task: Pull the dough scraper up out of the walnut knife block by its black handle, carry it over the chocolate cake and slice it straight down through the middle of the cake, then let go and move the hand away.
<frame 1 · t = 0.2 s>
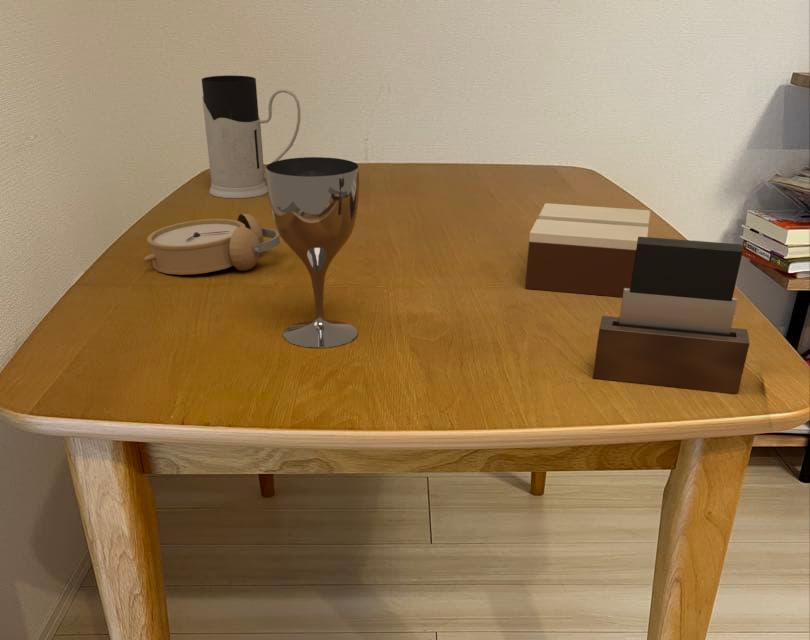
cake near: (583, 285, 96), on the table
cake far: (588, 265, 102), on the table
wine glass: (320, 335, 84), on the table
dough scraper: (676, 314, 73), in the knife block
knife block: (664, 378, 76), on the table
alarm clock: (216, 264, 102), on the table
glass holder: (257, 193, 131), on the table
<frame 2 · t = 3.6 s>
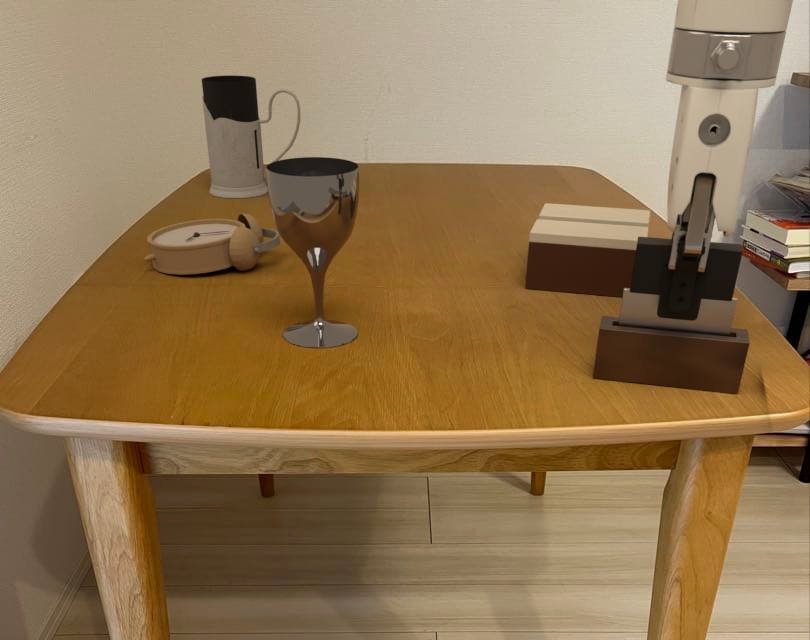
hand: (676, 310, 72), 6 cm above the table, tool pointing down, fingers closed on dough scraper, 2 cm apart
dough scraper: (676, 314, 73), in the knife block, touching gripper
everything else where it was.
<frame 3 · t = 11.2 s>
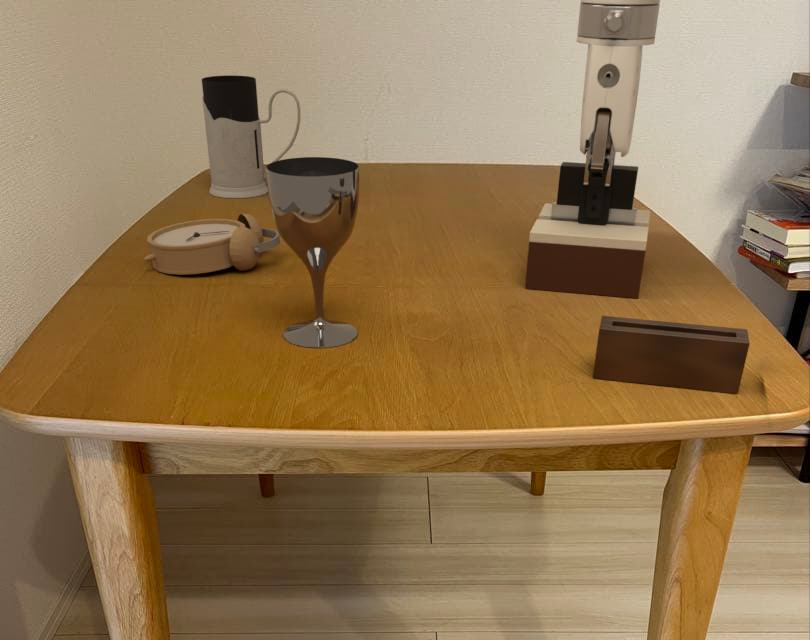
hand: (593, 219, 96), 6 cm above the table, tool pointing down, fingers closed on dough scraper, 2 cm apart
dough scraper: (592, 222, 96), on the table, touching gripper
everything else where it was.
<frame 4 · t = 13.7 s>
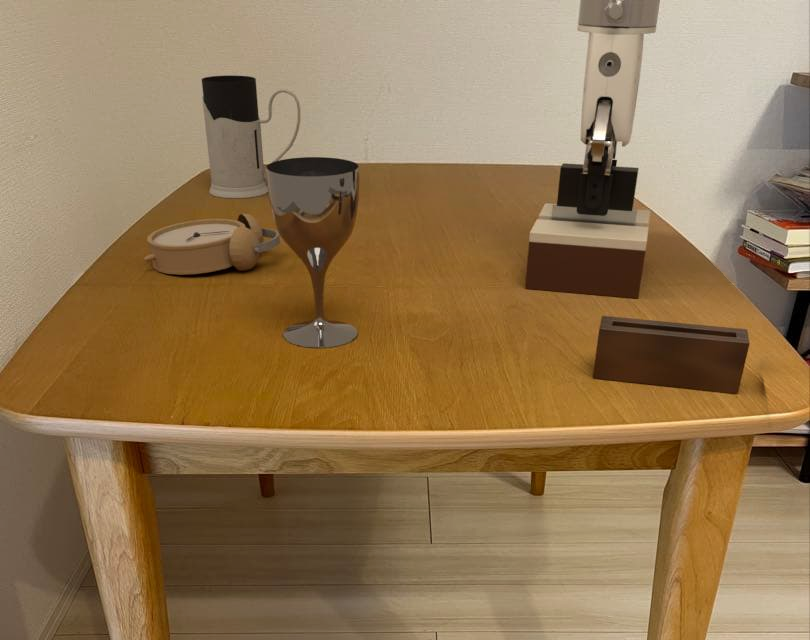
hand: (594, 204, 95), 8 cm above the table, tool pointing down, fingers open, 6 cm apart
dough scraper: (592, 223, 96), on the table
everything else where it was.
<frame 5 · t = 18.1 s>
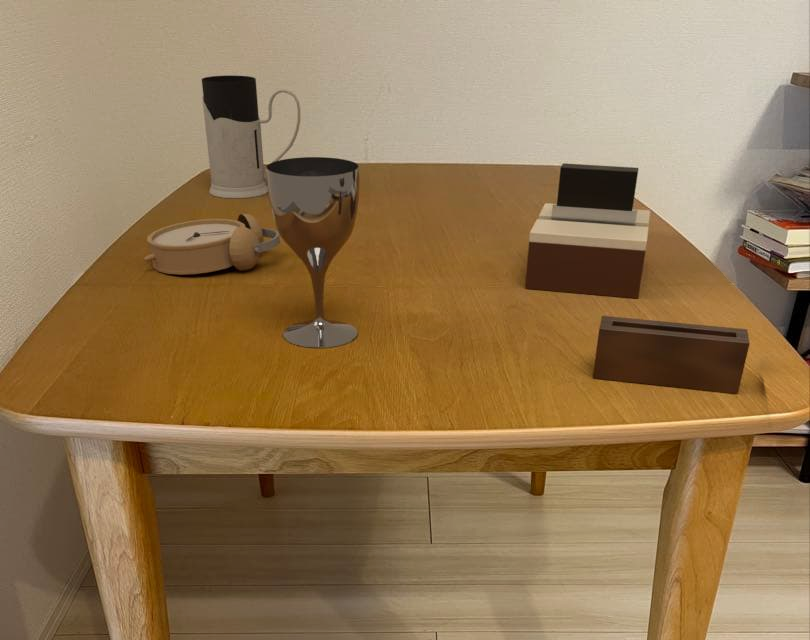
nothing on the table moved.
at the end: dough scraper 0.1 cm from the target spot, on the table; dough scraper tilted 0°; cake near moved 0.0 cm from its start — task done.
